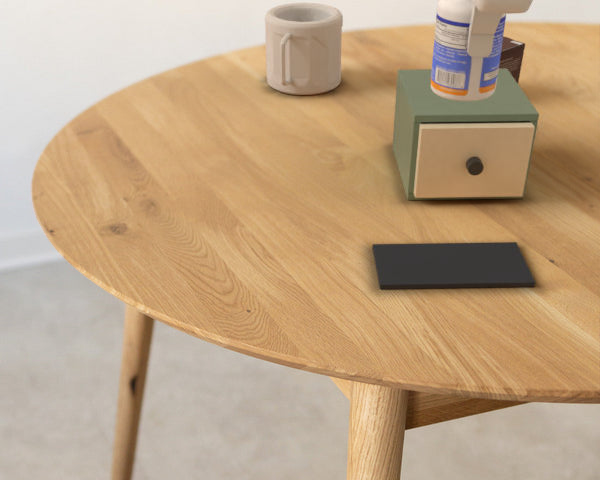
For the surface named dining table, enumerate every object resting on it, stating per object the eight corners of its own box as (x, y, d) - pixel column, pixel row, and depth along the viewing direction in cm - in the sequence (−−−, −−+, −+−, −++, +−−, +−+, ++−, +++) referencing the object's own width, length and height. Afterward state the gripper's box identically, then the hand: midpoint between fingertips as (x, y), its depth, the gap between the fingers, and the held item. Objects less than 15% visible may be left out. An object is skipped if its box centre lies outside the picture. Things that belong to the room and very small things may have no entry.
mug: (283, 66, 119) (282, -2, 113) (350, 75, 116) (353, 5, 110) (246, 97, 108) (243, 24, 103) (319, 108, 105) (320, 32, 99)
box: (455, 93, 109) (461, 40, 105) (483, 83, 113) (489, 32, 108) (490, 105, 106) (498, 51, 101) (517, 95, 109) (526, 42, 105)
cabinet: (523, 198, 84) (539, 113, 78) (407, 200, 84) (414, 115, 78) (495, 145, 95) (507, 68, 90) (392, 147, 95) (397, 69, 89)
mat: (515, 246, 76) (516, 241, 76) (534, 286, 70) (535, 282, 70) (372, 248, 76) (372, 244, 76) (379, 289, 70) (380, 284, 70)
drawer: (525, 202, 81) (538, 131, 77) (416, 203, 81) (423, 133, 77) (495, 147, 93) (505, 83, 88) (400, 148, 92) (404, 84, 88)
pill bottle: (481, 77, 68) (497, -43, 62) (505, 100, 63) (524, -27, 58) (421, 81, 67) (431, -40, 61) (440, 105, 63) (454, -23, 57)
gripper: (583, -141, 46) (542, 86, 54) (504, -171, 63) (481, 6, 71) (477, -140, 46) (452, 87, 54) (426, -171, 63) (412, 7, 71)
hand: (468, 40), depth 63 cm, fingers closed on pill bottle, 5 cm apart
